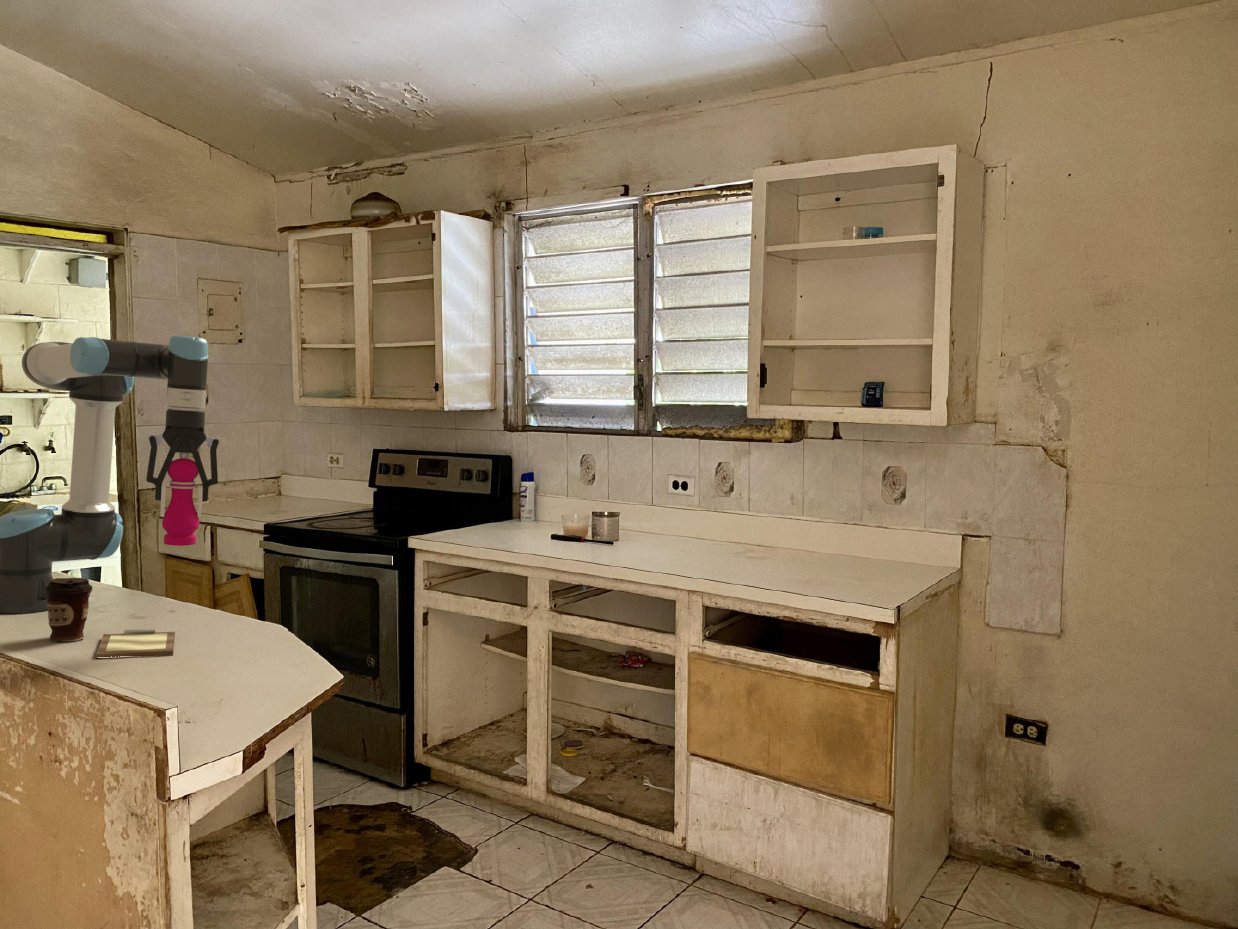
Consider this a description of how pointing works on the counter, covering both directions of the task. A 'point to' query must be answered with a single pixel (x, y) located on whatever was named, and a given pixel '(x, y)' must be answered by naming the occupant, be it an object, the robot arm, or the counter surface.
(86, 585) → the coffee cup
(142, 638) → the clipboard
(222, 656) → the counter surface
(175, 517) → the pepper mill
